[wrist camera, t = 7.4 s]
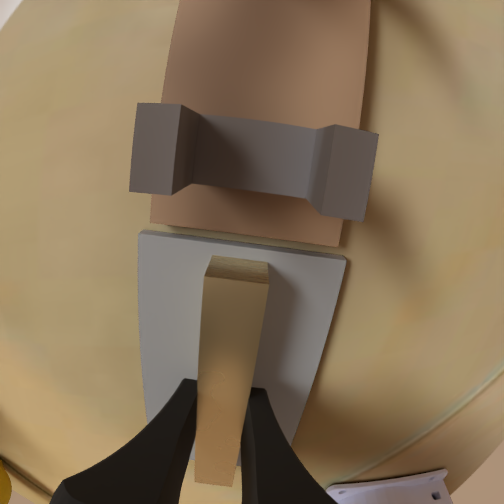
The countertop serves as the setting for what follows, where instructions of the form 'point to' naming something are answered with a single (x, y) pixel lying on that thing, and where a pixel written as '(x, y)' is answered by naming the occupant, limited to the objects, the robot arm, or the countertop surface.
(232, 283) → the rail
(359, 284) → the countertop surface
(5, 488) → the lemon
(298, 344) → the mat
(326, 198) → the rack
